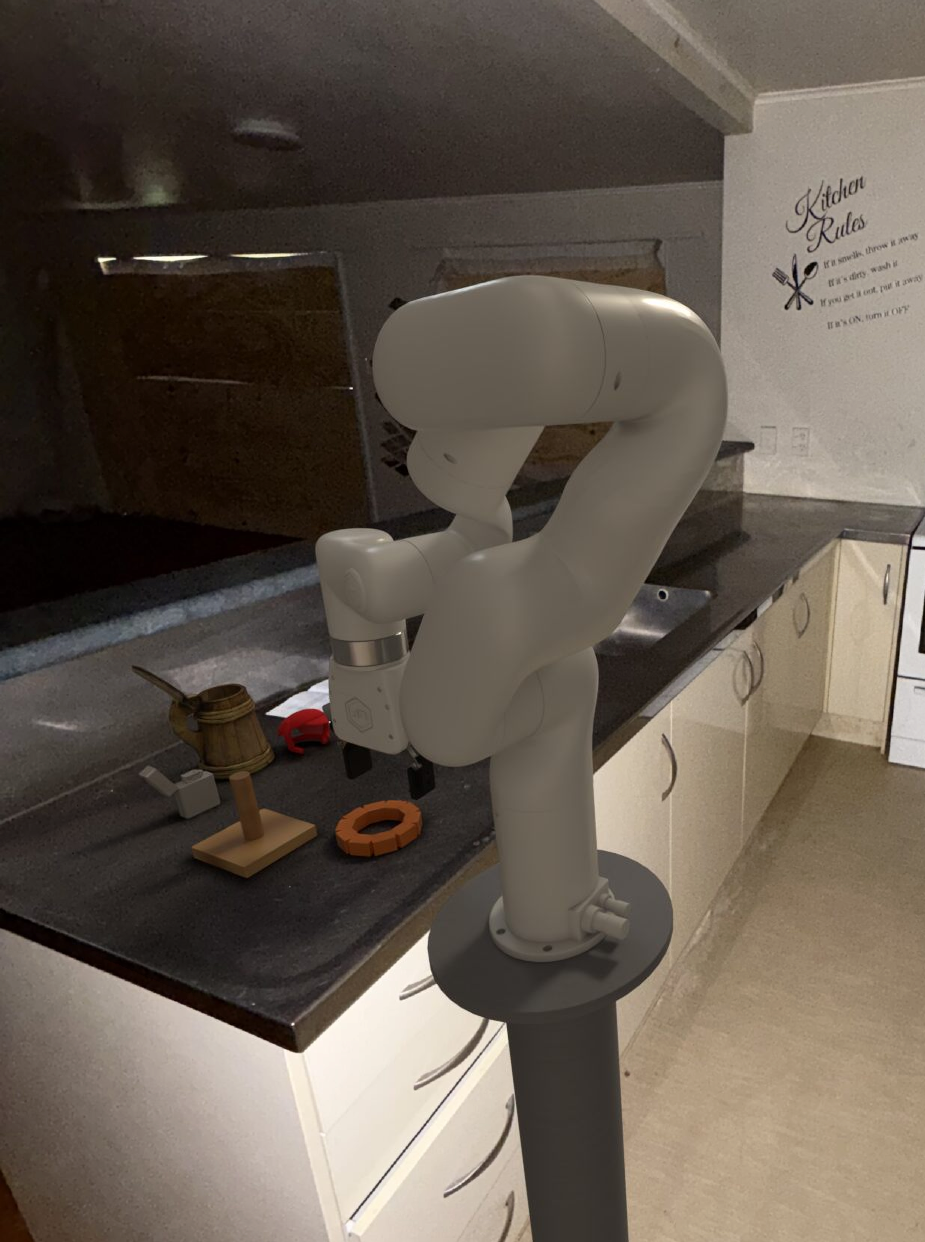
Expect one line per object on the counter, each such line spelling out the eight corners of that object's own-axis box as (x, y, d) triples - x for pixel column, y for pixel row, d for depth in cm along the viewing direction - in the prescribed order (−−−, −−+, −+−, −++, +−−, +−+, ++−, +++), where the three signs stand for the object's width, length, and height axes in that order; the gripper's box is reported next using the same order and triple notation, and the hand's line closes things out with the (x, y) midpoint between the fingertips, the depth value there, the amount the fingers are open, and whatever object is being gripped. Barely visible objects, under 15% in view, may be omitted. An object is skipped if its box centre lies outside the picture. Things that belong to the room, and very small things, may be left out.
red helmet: (271, 757, 108) (262, 719, 106) (291, 738, 113) (284, 702, 111) (327, 756, 108) (320, 719, 106) (345, 738, 114) (338, 702, 112)
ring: (438, 822, 93) (437, 809, 92) (378, 864, 85) (375, 851, 84) (383, 805, 96) (381, 793, 96) (320, 845, 88) (317, 831, 87)
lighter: (213, 799, 97) (198, 744, 94) (221, 803, 96) (206, 747, 94) (153, 827, 91) (136, 769, 88) (161, 831, 90) (144, 772, 88)
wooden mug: (151, 783, 101) (114, 658, 95) (253, 744, 112) (226, 630, 105) (183, 802, 97) (146, 672, 90) (287, 759, 107) (260, 641, 101)
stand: (317, 835, 90) (302, 765, 86) (246, 878, 82) (227, 803, 79) (266, 818, 93) (249, 750, 90) (193, 858, 86) (172, 785, 82)
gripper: (282, 643, 80) (309, 781, 87) (405, 672, 74) (424, 819, 80) (341, 623, 87) (362, 753, 93) (458, 648, 80) (472, 786, 87)
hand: (391, 783), depth 87 cm, fingers open, 9 cm apart
